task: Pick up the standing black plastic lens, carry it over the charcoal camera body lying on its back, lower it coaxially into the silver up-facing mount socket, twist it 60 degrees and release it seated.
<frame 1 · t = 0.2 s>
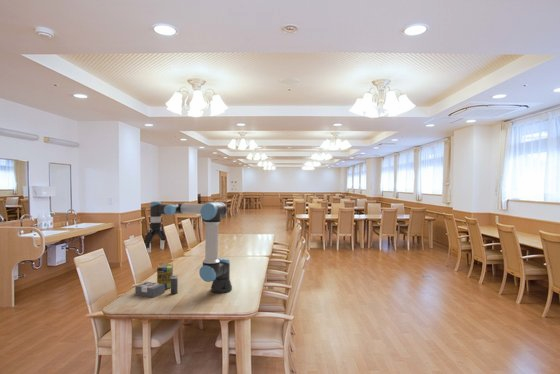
hand: (155, 250, 244), 28 cm above the table, fingers open, 13 cm apart
protein box: (165, 286, 249), on the table
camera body: (150, 293, 230), on the table
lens: (174, 293, 231), on the table
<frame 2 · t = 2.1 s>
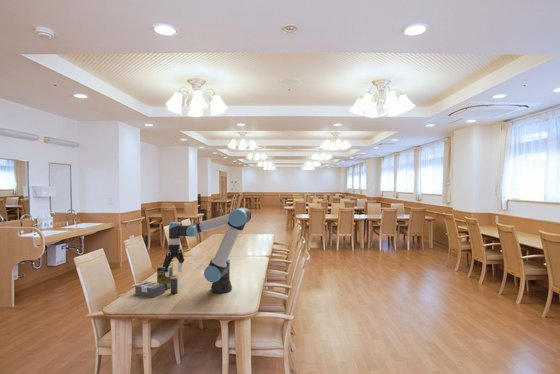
hand: (173, 274, 231), 14 cm above the table, fingers open, 13 cm apart
nothing on the table moved.
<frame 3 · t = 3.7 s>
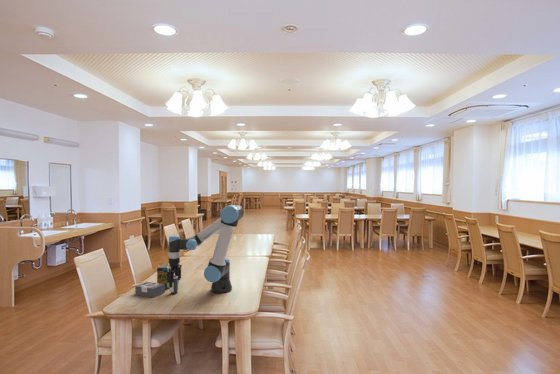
hand: (174, 290, 231), 2 cm above the table, fingers closed on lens, 5 cm apart
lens: (174, 293, 231), on the table, touching gripper
everything else where it was.
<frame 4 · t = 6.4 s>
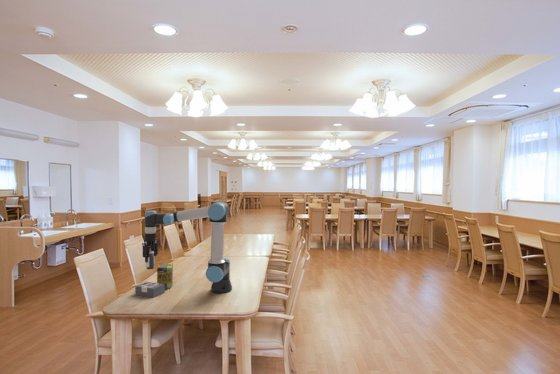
hand: (150, 265, 230), 20 cm above the table, fingers closed on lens, 5 cm apart
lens: (150, 268, 230), point 18 cm above the table, touching gripper
everything else where it was.
when the fingers open (7 cm above the table, at t = 8.9 s): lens drops 2 cm, resting on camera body.
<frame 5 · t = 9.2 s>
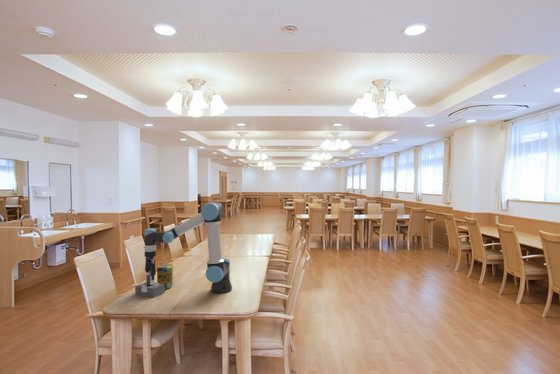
hand: (150, 282, 230), 8 cm above the table, fingers open, 9 cm apart
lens: (150, 289, 230), point 3 cm above the table, touching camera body
everything else where it was.
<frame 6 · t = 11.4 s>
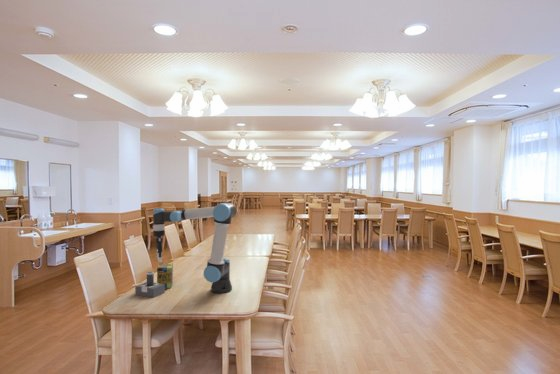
hand: (159, 259, 234), 23 cm above the table, fingers open, 13 cm apart
nothing on the table moved.
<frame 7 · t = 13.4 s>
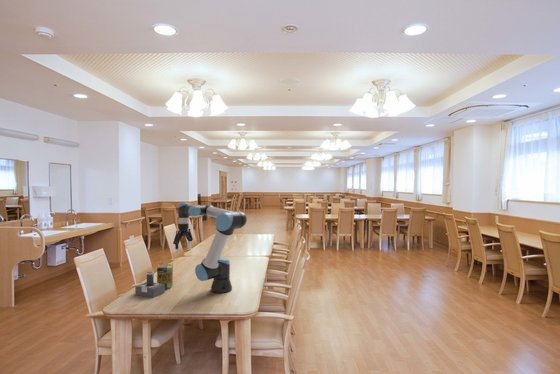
hand: (183, 251, 245), 27 cm above the table, fingers open, 13 cm apart
nothing on the table moved.
at the end: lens 0.1 cm off-centre on the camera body, point 3.0 cm above the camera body's base; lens tilted 0°; the gripper is holding nothing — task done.
